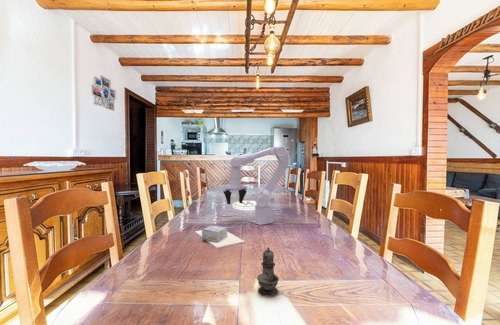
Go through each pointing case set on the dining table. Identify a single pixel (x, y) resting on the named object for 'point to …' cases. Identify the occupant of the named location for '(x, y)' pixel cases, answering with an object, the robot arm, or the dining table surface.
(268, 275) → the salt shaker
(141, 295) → the dining table surface
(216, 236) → the medicine box
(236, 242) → the mat
